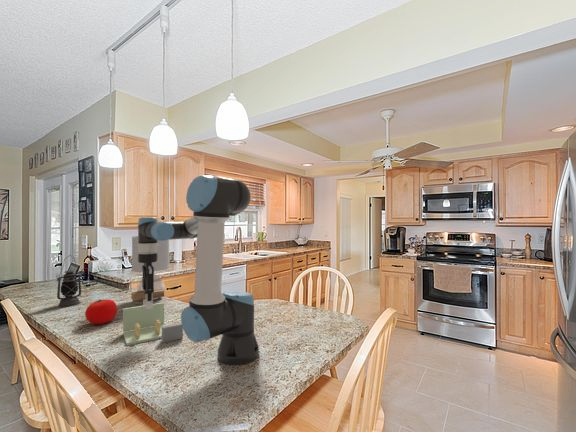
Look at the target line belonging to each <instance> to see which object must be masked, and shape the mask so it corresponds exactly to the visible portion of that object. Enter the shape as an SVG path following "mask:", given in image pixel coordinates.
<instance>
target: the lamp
mask: <svg viewBox="0 0 576 432" xmlns="http://www.w3.org/2000/svg"><path fill="white" fill-rule="evenodd" d="M131 241H132V242H131V244H132V245H131V252H132V253H131V260H132V261H131V262H132V263H131V266H132V267H131V270H132V272H135V273H136V272H137V273H143V270H142V266H143V265H144V263H139V262H138V255H139V254H140V253H139V252H138V235H134V236H132V238H131ZM157 245H159V247H157V252H156V253H157V261H156V262H152V266H153V267H154V289H160V288H162V289H163V290H164V292H165V291H166V290H165V287H166V286H165V283H164V282H163V279H161V278H160V277H159V276H158V275H156V274H155V272H161V271H165V270H168V269H170V240H165V241H159V240H157ZM142 281H143V278H141V280H140V282H139V283H138V285H137V288H136V291H143V287H142ZM160 298H161V297H158V298H153V301H155V300H158V299H160Z"/></svg>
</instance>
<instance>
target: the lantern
mask: <svg viewBox="0 0 576 432" xmlns="http://www.w3.org/2000/svg"><path fill="white" fill-rule="evenodd" d="M69 257H71V258H72V259H73V260H74V263H75V267H76V269H77V272H78V273H79V274H77V273H76V270H72V269H68V270H66V271H63V273H65V274H62V270H64V267H65V263H63V264H62V268H61V270H60V272H59V275H58V277H57V278H56V282H58V283H57V292H56V299H57V300H59V303H58V305H57V306H58V307H59V308H65V307H66V308H68V307H72V306H73V307H74V306H77V305H80V304H81V301H80V299H79V297H80V296H81V295H82V284H81V279H82V274H81V273H80V270H79V268H78V266H77V262H76V260H75V258H74V257H73V256H72V255H71V254H69V255H68V256H67V257H65V258H64V260H63V262H65V261H66V259H67V258H69ZM61 274H62V276H61ZM77 277H78V278H77ZM75 278H77V281H78V282H77V281H76V279H75ZM61 279H64V280H62V282H61ZM77 292H78V294H77ZM60 293H61V294H60ZM60 295H62V297H61V296H60Z"/></svg>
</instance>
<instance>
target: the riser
mask: <svg viewBox="0 0 576 432" xmlns="http://www.w3.org/2000/svg"><path fill="white" fill-rule="evenodd" d="M181 338H183V339H184V330H183V327H182V323H181V322H178V323H173V324H168V325H165V326H162V338H161V342H162V344H164V342H165V343H169V341H170V342H173V340H174V341H178V340H177V339H179V340H182V339H181Z"/></svg>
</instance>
